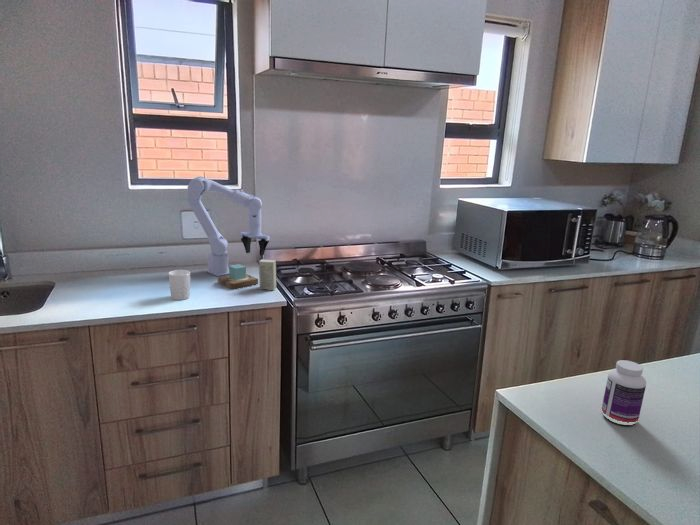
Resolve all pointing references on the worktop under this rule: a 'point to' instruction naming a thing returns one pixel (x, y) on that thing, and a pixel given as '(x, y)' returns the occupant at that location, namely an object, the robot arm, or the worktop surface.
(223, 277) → the walnut plinth
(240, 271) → the teal block
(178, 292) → the white cup
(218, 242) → the robot arm
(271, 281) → the skincare box
